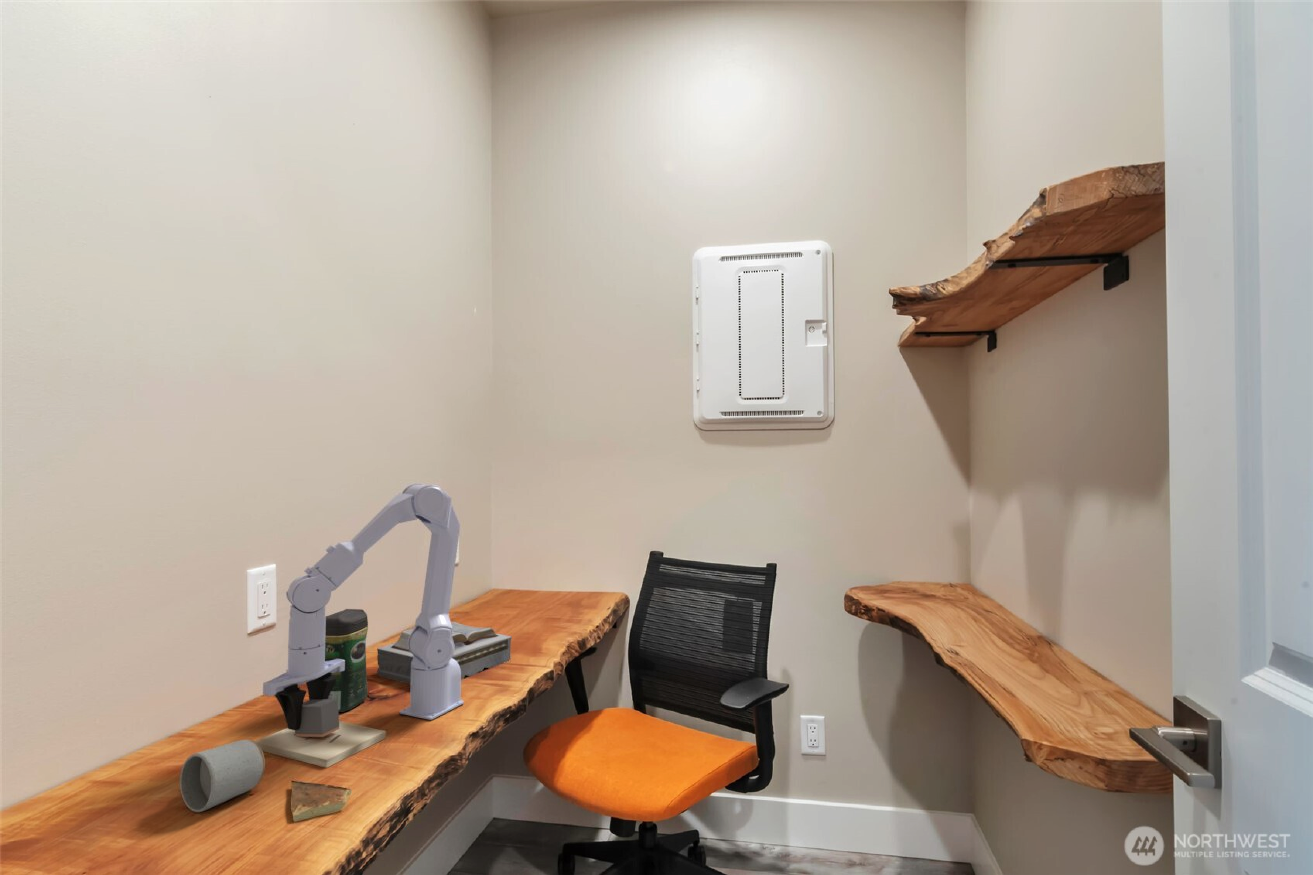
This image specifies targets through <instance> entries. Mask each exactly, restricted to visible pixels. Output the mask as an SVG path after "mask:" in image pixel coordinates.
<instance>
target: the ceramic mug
mask: <svg viewBox="0 0 1313 875" xmlns="http://www.w3.org/2000/svg"><path fill="white" fill-rule="evenodd" d="M265 767H266V761H265V756H264V751H262V749H261V748H260V746H259V745H258V744H257V743H256V742H254V740H251V739H242V740H237V741H233V742H229V743H227V744H223V745H220V746H216V747H213V748H212V747H211V748H210V749H206V750H205V749H204V750H202V751H199V752H195V753H193V754H191V755H189V756H188V757H187V758H186V760H185V761H184V763H183V765H182V767H181V770H180V771H181V772H180V776H179V786H180V793H181V797H182V799H183V801H184V804H185V806H186V807H187V808H188V809H189V810H190V811H192V812H194V813H202V812H205V811H207V810H209V809H212V808H213V807H216V806H218V805H220V804H223V803H225V802H227V801H229V800H231V799H234V798H235V797H239V796H240V795H242V794H244V793H247V792H249V791H251V790H252V789H253V788H255V787H256V786H258V784H259V783H260V782H261V780H262V779H263V776H264V773H265Z"/></svg>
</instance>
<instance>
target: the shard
mask: <svg viewBox="0 0 1313 875" xmlns="http://www.w3.org/2000/svg"><path fill="white" fill-rule="evenodd" d="M290 786H291V787H290V788H291V794H290V811H291V813H292V814H291V815H292V820H293V822H294V823H295V822H299V821H304V820H307V819H311V818H314V817H319V816H323V815H329V814H333V813H338V812H339V813H340V811H342V810H343V808H344V807H345V805H346V803H347V799H348V798H349V797H350V796H351V794H352V788H347V787H343V786H335V785H331V784H326V783H325V784H324V783H315V782H304V781H297V780H291V781H290Z"/></svg>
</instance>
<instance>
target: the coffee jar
mask: <svg viewBox="0 0 1313 875" xmlns="http://www.w3.org/2000/svg"><path fill="white" fill-rule="evenodd" d="M325 617H326V632H325V662H327V661H331V660H335V659H342V660H345V670H344V671H341V672H338V671H337V672H334V673H332V675H331V676H335V677H337V683H336V684H335V686H334V687H333V689H332V691H331V693H330V695H329V697H328V699H338V713H341V712H342V713H344V712H348V711H349V710H352V709H353V708H355V707H356V706H358V705H360V704H362V703H364V701H366V699H367V698H368V678H367V677H368V675H367V653H366V650H367V648H366V647H367V645H366V644H367V643H366V642H367V635H368V629H369V622H368V621H369V620H368V614H367V613H366V611H364V609H361V608H360V609H359V608H358V609H357V608H345V609H343V610H340V611H338V612H334V613H332V614H329V615H325Z"/></svg>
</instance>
